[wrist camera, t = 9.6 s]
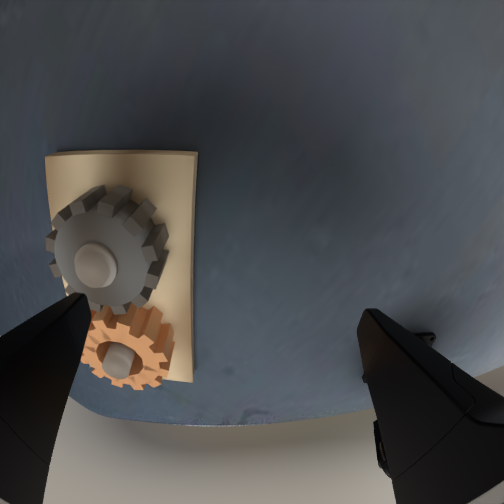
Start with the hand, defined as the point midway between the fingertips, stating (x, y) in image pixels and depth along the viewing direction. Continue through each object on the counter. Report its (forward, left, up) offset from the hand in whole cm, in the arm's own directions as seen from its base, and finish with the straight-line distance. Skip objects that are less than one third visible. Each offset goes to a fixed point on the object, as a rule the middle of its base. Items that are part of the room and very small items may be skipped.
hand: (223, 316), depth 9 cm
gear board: (+7, +7, -11) cm, 15 cm away
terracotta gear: (+7, +11, -9) cm, 16 cm away
